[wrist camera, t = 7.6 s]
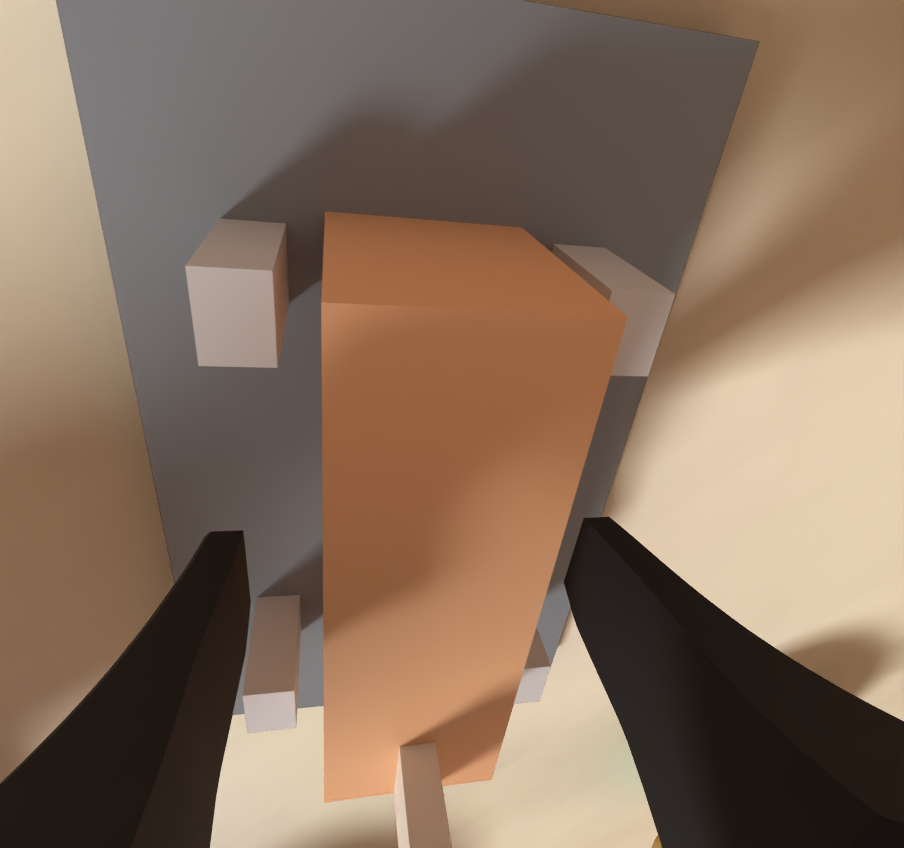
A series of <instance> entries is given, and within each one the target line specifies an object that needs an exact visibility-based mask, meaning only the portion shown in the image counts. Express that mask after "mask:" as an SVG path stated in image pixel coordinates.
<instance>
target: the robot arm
mask: <svg viewBox="0 0 904 848" xmlns="http://www.w3.org/2000/svg"><path fill="white" fill-rule="evenodd" d="M564 585H565V589H566V592H567V596H568V599H569V603H570V606H571V610H572V613H573V616H574V619H575V622H576V625H577V628H578V630H579V632H580V635H581V637H582V639H583V641H584V644H585V646H586V648H587V650H588V653H589V655H590V657H591V660H592V662H593V664H594V666H595V668H596V671H597V673H598V675H599V677H600V679H601V682H602V684H603V686H604V688H605V691H606V693H607V695H608V697H609V699H610V702H611V704H612V706H613V708H614V710H615V713H616V715H617V717H618V719H619V722H620V724H621V727H622V729H623V732H624V734H625V736H626V739H627V741H628V744H629V747H630V750H631V753H632V756H633V759H634V762H635V765H636V768H637V770H638V773H639V776H640V779H641V782H642V785H643V788H644V791H645V794H646V797H647V801H648V804H649V807H650V810H651V813H652V817H653V820H654V823H655V826H656V829H657V832H658V836H659V839H660V842H661V846H662V848H904V721H902V720H900V719H898V718H896V717H894V716H892V715H890V714H888V713H886V712H884V711H882V710H880V709H878V708H877V707H875V706H873V705H871V704H869V703H867V702H865V701H863V700H861V699H860V698H858V697H856V696H854V695H852V694H850V693H849V692H847V691H845V690H843V689H841V688H840V687H838V686H836V685H834V684H833V683H831V682H829V681H828V680H826V679H824V678H823V677H821V676H819V675H817V674H816V673H814V672H812V671H811V670H809V669H807V668H806V667H804V666H802V665H801V664H799V663H798V662H796V661H794V660H793V659H791V658H790V657H788V656H786V655H785V654H783V653H782V652H780V651H779V650H777V649H776V648H774V647H773V646H771V645H770V644H768V643H767V642H765V641H764V640H762V639H761V638H759V637H758V636H756V635H755V634H753V633H752V632H751V631H749V630H748V629H746V628H745V627H744V626H742V625H741V624H739V623H738V622H737V621H735V620H734V619H733V618H731V617H730V616H729V615H727V614H726V613H725V612H723V611H722V610H721V609H719V608H718V607H717V606H715V605H714V604H713V603H711V602H710V601H709V600H708V599H706V598H705V597H704V596H703V595H701V594H700V593H699V592H698V591H696V590H695V589H694V588H693V587H691V586H690V585H689V584H688V583H686V582H685V581H684V580H683V579H682V578H680V577H679V576H678V575H677V574H676V573H674V572H673V571H672V570H671V569H670V568H669V567H667V566H666V565H665V564H664V563H663V562H661V561H660V560H659V559H658V558H657V557H656V556H655V555H653V554H652V553H651V552H650V551H649V550H648V549H646V548H645V547H644V546H643V545H642V544H641V543H639V542H638V541H637V540H636V539H635V538H634V537H633V536H631V535H630V534H629V533H628V532H627V531H626V530H624V529H623V528H622V527H621V526H620V525H618V524H617V523H616V522H615V521H613V520H612V519H611V518H610V517H592V518H584V519H583V522H582V525H581V528H580V531H579V535H578V538H577V541H576V544H575V547H574V551H573V554H572V557H571V560H570V563H569V567H568V570H567V573H566V576H565V579H564ZM250 606H251V599H250V589H249V579H248V570H247V560H246V551H245V541H244V532H243V530H238V531H211V532H209V533H208V534H207V535H206V536H204V538H203V540H202V542H201V543H200V545H199V547H198V549H197V550H196V552H195V553H194V555H193V557H192V558H191V560H190V562H189V563H188V565H187V566H186V568H185V569H184V571H183V572H182V574H181V575H180V577H179V578H178V580H177V581H176V583H175V584H174V586H173V587H172V589H171V590H170V592H169V593H168V594H167V596H166V597H165V598H164V600H163V601H162V603H161V604H160V605H159V607H158V608H157V610H156V611H155V612H154V614H153V615H152V616H151V618H150V619H149V621H148V622H147V623H146V625H145V626H144V627H143V628H142V630H141V631H140V632H139V634H138V635H137V636H136V637H135V639H134V640H133V641H132V642H131V643H130V645H129V646H128V647H127V648H126V650H125V651H124V652H123V653H122V655H121V656H120V657H119V658H118V660H117V661H116V662H115V663H114V665H113V666H112V667H111V668H110V669H109V671H108V672H107V673H106V674H105V675H104V676H103V678H102V679H101V680H100V681H99V682H98V683H97V685H96V686H95V687H94V688H93V689H92V690H91V691H90V692H89V694H88V695H87V696H86V697H85V698H84V699H83V700H82V701H81V702H80V703H79V704H78V706H77V707H76V708H75V709H74V710H73V711H72V712H71V713H70V714H69V715H68V716H67V717H66V719H65V720H64V721H63V722H62V723H61V724H60V725H59V726H58V727H57V728H56V729H55V730H54V731H53V732H52V733H51V734H50V735H49V736H48V737H47V738H46V739H45V740H44V741H43V742H42V743H41V744H40V745H39V746H38V747H37V748H36V749H35V750H34V751H33V752H32V753H31V754H30V755H29V756H28V757H27V758H26V759H25V760H24V761H23V762H22V763H21V764H20V765H19V766H18V767H17V768H16V769H15V770H14V771H13V772H12V773H11V774H10V775H9V776H8V777H7V778H6V779H4V780H3V781H2V782H1V783H0V848H210V841H211V833H212V825H213V817H214V809H215V801H216V794H217V788H218V782H219V777H220V771H221V766H222V761H223V757H224V752H225V747H226V743H227V738H228V733H229V729H230V724H231V719H232V715H233V710H234V706H235V701H236V696H237V692H238V687H239V682H240V677H241V673H242V668H243V663H244V658H245V653H246V646H247V636H248V626H249V616H250Z"/></svg>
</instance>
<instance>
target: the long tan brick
mask: <svg viewBox="0 0 904 848" xmlns="http://www.w3.org/2000/svg"><path fill="white" fill-rule="evenodd" d="M627 318H628V317H627V316H626V315H625V314H624V313H622V312H621V311H620V310H619V309H618V308H617V307H615V306H614V305H613V304H612V303H611V302H609V301H608V300H607V299H606V298H605V297H604V296H602V295H601V294H600V293H599V292H598V291H596V290H595V289H594V288H593V287H592V286H591V285H589V284H588V283H587V282H586V281H585V280H583V279H582V278H581V277H580V276H579V275H578V274H576V273H575V272H574V271H573V270H572V269H570V268H569V267H568V266H567V265H566V264H565V263H563V262H562V261H561V260H560V259H559V258H558V257H556V256H555V255H554V254H553V253H552V252H550V251H549V250H548V249H547V248H546V247H545V246H543V245H542V244H541V243H540V242H539V241H537V240H536V239H535V238H534V237H533V236H532V235H530V234H529V233H528V232H527V231H526V230H524V229H523V228H522V227H510V226H498V225H485V224H473V223H461V222H449V221H436V220H424V219H412V218H400V217H388V216H375V215H363V214H351V213H339V212H326V211H325V225H324V249H323V273H322V297H321V337H322V496H323V654H324V803H325V802H333V801H340V800H347V799H354V798H361V797H369V796H376V795H383V794H390V793H394V801H395V812H396V824H397V835H398V847H399V848H452V845H451V839H450V832H449V826H448V819H447V813H446V806H445V800H444V794H443V787H442V786H448V785H455V784H462V783H470V782H477V781H484V780H491V779H492V776H493V773H494V769H495V766H496V762H497V759H498V756H499V752H500V749H501V745H502V742H503V739H504V735H505V732H506V729H507V725H508V722H509V718H510V715H511V712H512V708H513V705H514V701H515V698H516V695H517V691H518V688H519V684H520V681H521V678H522V674H523V671H524V667H525V664H526V661H527V657H528V654H529V651H530V647H531V644H532V640H533V637H534V634H535V630H536V627H537V623H538V620H539V617H540V613H541V610H542V606H543V603H544V600H545V596H546V593H547V589H548V586H549V583H550V579H551V576H552V572H553V569H554V566H555V562H556V559H557V556H558V552H559V549H560V545H561V542H562V539H563V535H564V532H565V528H566V525H567V522H568V518H569V515H570V511H571V508H572V505H573V501H574V498H575V494H576V491H577V488H578V484H579V481H580V477H581V474H582V471H583V467H584V464H585V461H586V457H587V454H588V450H589V447H590V444H591V440H592V437H593V433H594V430H595V427H596V423H597V420H598V416H599V413H600V410H601V406H602V403H603V399H604V396H605V393H606V389H607V386H608V383H609V379H610V376H611V372H612V369H613V366H614V362H615V359H616V355H617V352H618V349H619V345H620V342H621V338H622V335H623V332H624V328H625V325H626V321H627Z"/></svg>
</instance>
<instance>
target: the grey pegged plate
mask: <svg viewBox="0 0 904 848" xmlns="http://www.w3.org/2000/svg"><path fill="white" fill-rule="evenodd" d="M56 3H57V8H58V13H59V18H60V23H61V28H62V33H63V38H64V43H65V47H66V52H67V57H68V62H69V67H70V72H71V77H72V82H73V87H74V92H75V97H76V101H77V106H78V111H79V116H80V121H81V126H82V131H83V136H84V141H85V146H86V151H87V156H88V160H89V165H90V170H91V175H92V180H93V185H94V190H95V195H96V200H97V205H98V210H99V214H100V219H101V224H102V229H103V234H104V239H105V244H106V249H107V254H108V259H109V264H110V268H111V273H112V278H113V283H114V288H115V293H116V298H117V303H118V308H119V313H120V318H121V322H122V327H123V332H124V337H125V342H126V347H127V352H128V357H129V362H130V367H131V372H132V376H133V381H134V386H135V391H136V396H137V401H138V406H139V411H140V416H141V421H142V426H143V430H144V435H145V440H146V445H147V450H148V455H149V460H150V465H151V470H152V475H153V480H154V484H155V489H156V494H157V499H158V504H159V509H160V514H161V519H162V524H163V529H164V534H165V539H166V543H167V548H168V553H169V558H170V563H171V568H172V573H173V578H174V583H176V581H177V580H178V578H179V577H180V575H181V574H182V572H183V571H184V569H185V568H186V566H187V565H188V563H189V562H190V560H191V558H192V557H193V555H194V553H195V552H196V550H197V549H198V547H199V545H200V543H201V542H202V540H203V538H204V536H206V535H207V534H208V533H209V532H211V531H238V530H243V532H244V541H245V551H246V560H247V570H248V579H249V589H250V599H251V606H250V616H249V626H248V636H247V646H246V653H245V658H244V663H243V668H242V673H241V677H240V682H239V687H238V692H237V696H236V701H235V706H234V710H233V715H238V714H245V719H246V726H247V733H254V732H263V731H272V730H281V729H290V728H296V722H297V708H306V707H316V706H324V654H323V496H322V337H321V297H322V273H323V249H324V225H325V211H326V212H339V213H351V214H363V215H375V216H388V217H400V218H412V219H424V220H436V221H449V222H461V223H473V224H485V225H498V226H510V227H522V228H523V229H524V230H526V231H527V232H528V233H529V234H530V235H532V236H533V237H534V238H535V239H536V240H537V241H539V242H540V243H541V244H542V245H543V246H545V247H546V248H547V249H548V250H549V251H550V252H552V253H553V254H554V255H555V256H556V257H558V258H559V259H560V260H561V261H562V262H563V263H565V264H566V265H567V266H568V267H569V268H570V269H572V270H573V271H574V272H575V273H576V274H578V275H579V276H580V277H581V278H582V279H583V280H585V281H586V282H587V283H588V284H589V285H591V286H592V287H593V288H594V289H595V290H596V291H598V292H599V293H600V294H601V295H602V296H604V297H605V298H606V299H607V300H608V301H609V302H611V303H612V304H613V305H614V306H615V307H617V308H618V309H619V310H620V311H621V312H622V313H624V314H625V315H626V316H627V317H628V318H627V321H626V325H625V328H624V332H623V335H622V338H621V342H620V345H619V349H618V352H617V355H616V359H615V362H614V366H613V369H612V372H611V376H610V379H609V383H608V386H607V389H606V393H605V396H604V399H603V403H602V406H601V410H600V413H599V416H598V420H597V423H596V427H595V430H594V433H593V437H592V440H591V444H590V447H589V450H588V454H587V457H586V461H585V464H584V467H583V471H582V474H581V477H580V481H579V484H578V488H577V491H576V494H575V498H574V501H573V505H572V508H571V511H570V515H569V518H568V522H567V525H566V528H565V532H564V535H563V539H562V542H561V545H560V549H559V552H558V556H557V559H556V562H555V566H554V569H553V572H552V576H551V579H550V583H549V586H548V589H547V593H546V596H545V600H544V603H543V606H542V610H541V613H540V617H539V620H538V623H537V627H536V630H535V634H534V637H533V640H532V644H531V647H530V651H529V654H528V657H527V661H526V664H525V667H524V671H523V674H522V678H521V681H520V684H519V688H518V691H517V695H516V698H515V701H514V704H518V703H528V702H537V701H540V698H541V695H542V692H543V689H544V686H545V683H546V680H547V677H548V674H549V671H550V668H551V664H552V661H553V658H554V655H555V652H556V649H557V646H558V643H559V640H560V637H561V634H562V632H563V629H564V626H565V623H566V620H567V617H568V614H569V611H570V608H571V606H570V603H569V599H568V596H567V592H566V589H565V585H564V579H565V576H566V573H567V570H568V567H569V563H570V560H571V557H572V554H573V551H574V547H575V544H576V541H577V538H578V535H579V531H580V528H581V525H582V522H583V519H584V518H592V517H601V515H602V512H603V509H604V506H605V503H606V500H607V497H608V494H609V491H610V488H611V485H612V482H613V479H614V476H615V473H616V470H617V467H618V464H619V461H620V458H621V455H622V452H623V449H624V446H625V443H626V440H627V437H628V434H629V431H630V428H631V425H632V422H633V419H634V416H635V413H636V410H637V407H638V404H639V401H640V398H641V395H642V392H643V389H644V386H645V383H646V380H647V377H648V375H649V372H650V369H651V366H652V363H653V360H654V357H655V354H656V351H657V348H658V345H659V342H660V339H661V336H662V333H663V330H664V327H665V324H666V321H667V318H668V315H669V312H670V309H671V306H672V303H673V300H674V297H675V293H676V290H677V287H678V284H679V281H680V278H681V275H682V272H683V269H684V266H685V263H686V260H687V257H688V254H689V251H690V248H691V245H692V242H693V239H694V236H695V233H696V230H697V227H698V224H699V221H700V218H701V215H702V212H703V209H704V206H705V203H706V200H707V197H708V194H709V191H710V188H711V185H712V182H713V179H714V176H715V173H716V170H717V167H718V164H719V161H720V158H721V155H722V152H723V149H724V146H725V143H726V140H727V137H728V134H729V131H730V128H731V125H732V122H733V119H734V116H735V113H736V110H737V107H738V104H739V101H740V98H741V95H742V92H743V89H744V86H745V83H746V80H747V77H748V74H749V71H750V68H751V65H752V62H753V59H754V56H755V53H756V50H757V47H758V44H759V41H754V40H748V39H743V38H737V37H731V36H725V35H719V34H714V33H708V32H702V31H696V30H691V29H685V28H679V27H673V26H668V25H662V24H656V23H650V22H644V21H639V20H633V19H627V18H621V17H616V16H610V15H604V14H598V13H593V12H587V11H581V10H575V9H570V8H564V7H558V6H552V5H546V4H541V3H535V2H529V1H523V0H56Z"/></svg>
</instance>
